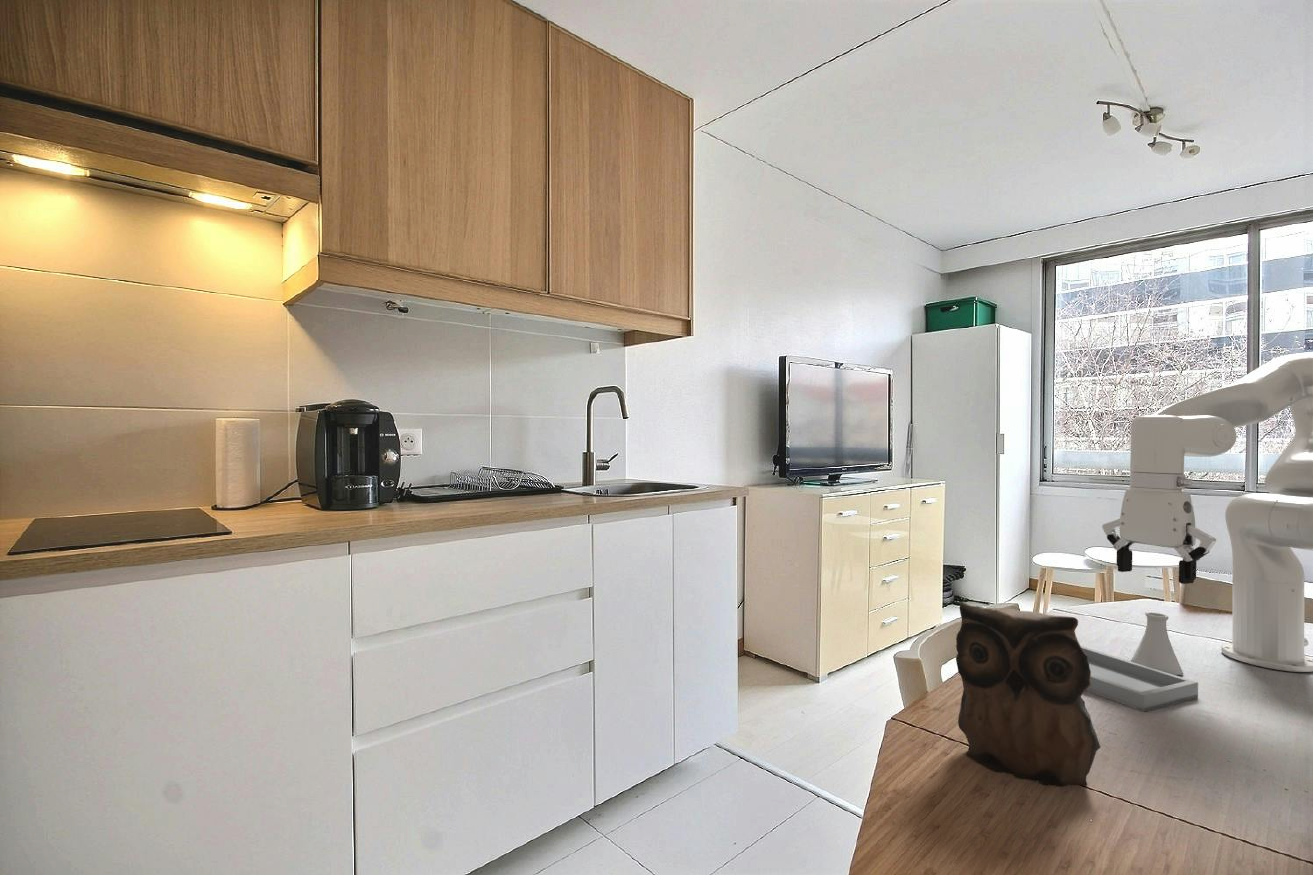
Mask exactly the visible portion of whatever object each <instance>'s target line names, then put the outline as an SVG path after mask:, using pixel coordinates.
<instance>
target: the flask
mask: <svg viewBox="0 0 1313 875" xmlns="http://www.w3.org/2000/svg"><path fill="white" fill-rule="evenodd" d="M1144 614H1145V616H1146V626H1145V630H1144V633H1143V635H1142V638H1141V640H1140V642H1139V644H1138V647H1137V648H1136V650H1135V651H1134V653H1133V656H1132V658H1131V660H1130V661H1131V662H1134V663H1137V664H1140V665H1144V666H1147V667H1150V668H1153V669H1157V670H1160V671H1163V672H1166V673H1169V674H1173V675H1176V676H1184V675H1185V674H1184V672H1183V670H1182V667H1181V665H1180V663H1179V660H1178V657H1177V655H1176V653H1175V650H1174V649H1173V646H1172V644H1171V641H1170V638H1169V633H1168V629H1167V628H1168V627H1167V621H1168V620H1169V616H1168V615H1167V614H1164V613H1161V612H1152V611H1145V612H1144Z"/></svg>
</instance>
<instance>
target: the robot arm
mask: <svg viewBox="0 0 1313 875" xmlns="http://www.w3.org/2000/svg"><path fill="white" fill-rule="evenodd" d="M1288 407H1289V409H1290V412H1291V415H1292V419H1293V423H1294V430H1295V432H1294V436H1293V437H1292V440H1291V441H1290V442H1289V444H1288V445H1287V446H1286V448H1285V449H1284V450H1283V451H1282V453H1281V454H1280V455H1279V456H1278V458H1277V459H1276V460H1275V461H1274V463H1273V464H1272V466H1271V467H1270V468H1269V469H1268V471H1267V472H1266V475H1265V476H1264V488H1265V490H1266V491H1267V492H1268V493H1263V492H1260V493H1259V492H1258V493H1256V492H1255V493H1253V492H1252V493H1245V494H1241V495H1239V496H1237V497H1235V498H1233V499H1232V500H1231V501H1229V503H1228V504H1227V506H1226V509H1225V514H1224V516H1225V523H1226V528H1227V531H1228V534H1229V539H1230V545H1231V554H1232V630H1231V631H1232V633H1231V634H1232V635H1231V636H1232V639H1231V640H1232V642H1230V643H1225V644H1222V645H1221V652H1222V653H1223V654H1224V655H1225V656H1227V657H1229V658H1231V659H1233V660H1236V661H1239V662H1242V663H1245V664H1249V665H1252V666H1256V667H1261V668H1266V669H1271V670H1277V671H1285V672H1292V673H1294V672H1295V673H1312V672H1313V659H1312V658H1310V657H1308V656H1306V655H1305V647H1307V646H1308V645H1309V640H1308V639H1307V638H1305V579H1306V578H1305V570H1304V567H1303V564H1302V563H1301V561H1300V559H1299V558H1298V556H1297V555H1296V553H1295V552H1294V551H1293V550H1292V549H1300V550H1307V551H1313V351H1311V352H1301V353H1293V354H1286V355H1283V356H1279V357H1276V358H1274V359H1271V360H1269V361H1268V362H1266V363H1264V364H1262V365H1260V366H1258V367H1257V368H1255V369H1253V370H1252V371H1251V372H1249V373H1247V374H1245V375H1243V376H1242V377H1240V378H1239V379H1237V380H1235V381H1233V382H1232V383H1230V384H1227V385H1225V386H1222V387H1218V388H1216V389H1212V390H1209V391H1206V392H1203V393H1201V394H1198V395H1195V396H1191V397H1189V398H1188V397H1187V398H1186V399H1182V400H1179V401H1177V402H1175V403H1172V404H1170V405H1168V406H1166V407H1164V408H1162V409H1160V410H1159V411H1157V412H1155V413H1154V414H1150V415H1149V414H1148V415H1147V414H1145V415H1141V416H1140V415H1139V416H1136V417H1135V418H1133V419H1132V420H1131V425H1130V461H1129V462H1130V463H1129V464H1130V465H1129V466H1130V468H1129V471H1130V472H1129V488H1126V489H1125V492H1124V494H1123V500H1122V503H1121V509H1120V516H1119V517H1120V518H1118V519H1114V520H1113V521H1109V522H1107V523H1104V524H1102V526H1101V527H1102V530H1103V532H1104V534H1105V535H1106V539H1107V540H1108V541H1109V543H1110V544H1111V545H1112V548H1113V549H1114V550H1115V551H1116V566H1117V572H1120V573H1126V572H1131V571H1133V550H1132V549H1130V548H1132V546H1133V545H1134V544H1142V545H1149V546H1153V547H1154V546H1155V547H1163V548H1167V549H1174V550H1175V551H1176V552H1177V554H1179V556H1180V557H1181V558H1182V559H1180V560H1179V561H1178V583H1179V584H1182V585H1188V584H1193V583H1194V582H1195V580H1196V578H1197V562H1198V561H1200V560H1201V558H1203V557H1204V556H1206V555H1208V554H1209V553H1210V551H1211V549H1212V548H1213V547H1214V545H1215V544H1216V543H1217V538H1216V537H1214V536H1212V535H1211V534H1208V533H1206V531H1205V532H1204V531H1203V530H1201V529H1200V528H1197V527H1196V518H1195V511H1194V505H1193V501H1192V497H1191V494H1190V493H1191V492H1185V491H1184V490H1185V489H1186V487H1192V486H1193V483H1194V481H1193V479H1192V478H1188V477H1186V474H1185V457H1195V458H1196V457H1199V458H1201V457H1202V458H1203V457H1204V458H1206V457H1207V458H1209V457H1210V458H1211V457H1216V456H1219V455H1223V454H1225V453H1227V452H1228V451H1230V450H1231V449H1232V448H1233V447H1234V446H1235V444H1236V442H1237V432H1236V429H1235V428H1240V427H1245V426H1250V425H1254V424H1255V425H1256V424H1260V423H1263V422H1265V421H1267V420H1269V419H1270V418H1273V417H1274V416H1275V415H1277V414H1280V412H1283V410H1286V409H1287V408H1288ZM1117 528H1119V535H1118V534H1117V532H1116V529H1117ZM1197 540H1199V542H1200V543H1199V546H1197V547H1195V548H1194V546H1195V545H1196V541H1197Z"/></svg>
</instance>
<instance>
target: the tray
mask: <svg viewBox="0 0 1313 875" xmlns="http://www.w3.org/2000/svg"><path fill="white" fill-rule="evenodd" d="M1080 646H1081V648H1082V650H1083V652H1084V653H1085V654H1086V655H1087V656H1088V663H1089V667H1090V670H1091V676H1090V683H1091V685H1090V686H1089V687H1088V688H1087V689H1086V690H1085V691H1087V692H1089V693H1093V694H1095V695H1097V696H1101V697H1103V698H1106V699H1108V700H1110V701H1111V700H1112V701H1114V702H1116V703H1119V704H1122V705H1124V706H1126V707H1130V708H1133V709H1135V710H1138V711H1140V712H1143V713H1146V712H1150V711H1153V710H1157V709H1161V708H1165V707H1169V706H1173V705H1176V704H1177V705H1178V704H1179V703H1183V702H1187V701H1192V700H1196V699H1198V698H1199V682H1198V681H1194V680H1191V679H1189V678H1185V677H1182V676H1180V675H1173V674H1169V673H1166V672H1163V671H1160V670H1157V669H1153V668H1150V667H1147V666H1144V665H1140V664H1137V663H1134V662H1131V660H1127V659H1124V658H1121V657H1117V656H1115V655H1111V654H1108V653H1105V652H1101V651H1098V650H1095V649H1092V648H1090V647H1089V648H1088V647H1085V646H1082V645H1080Z"/></svg>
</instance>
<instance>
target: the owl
mask: <svg viewBox="0 0 1313 875" xmlns="http://www.w3.org/2000/svg"><path fill="white" fill-rule="evenodd" d="M959 614H960V618H961V626H960V629H959V631H958V632H957V634H956V638H955V640H956V642H955V643H956V645H955V648H956V651H957V654H956V656H955V662H956V666H957V672H958V674H959V676H960V677H961V682H962V687H963V689H962V690H963V691H962V695H961V699H960V708H959V714H958V717H957V718H958V719H957V724H958V727H959V729H960V731H961V732H963V734H964V735H965V737H966V740H967V743H968V749H967V751H966V752H965V754H966V756H967V758H969V759H970V760H973V761H974V762H975V763H977V764H978V765H981V766H982V767H984V768H985V769H986V770H990V771H991V772H995V773H1000V774H1001V773H1002V774H1003V773H1004V774H1010V775H1012V776H1014V778H1016V779H1020V780H1030V781H1034V782H1037V783H1038V784H1040V785H1043V786H1045V787H1046V786H1053V787H1065V786H1083V787H1084V786H1085V787H1086V786H1088V781H1087V776H1088V775H1089V773H1090V770H1091V768H1092V765H1093V763H1094V760H1095V756H1096V754H1097V751H1098V750H1099V749H1101V745H1100V742H1099V738H1098V735H1097V733H1096V729H1095V728H1094V725H1093V722H1092V719H1091V715H1090V714H1089V712H1088V709H1087V707H1086V702H1085V701H1086V700H1084V699H1083V698H1082V696H1083V694H1084V693H1085V692H1086V691H1087V690H1086V689H1087V688H1088V687H1089V686H1090V685H1091V683H1090V676H1091V670H1090V667H1089V663H1088V656H1087V655H1086V654H1085V653H1084V652H1083V650H1082V648H1081V646H1082V645H1081V644H1080V642H1079V640H1078V637H1077V635H1076V629H1077V627H1078V626H1079V620H1078V618H1076V617H1075V616H1074V617H1073V616H1067V615H1066V616H1064V615H1052V614H1046V613H1042V612H1035V611H1030V610H1017V609H1013V608H1008V607H1007V608H1005V607H1004V608H1003V607H1002V608H999V607H998V608H996V607H983V606H979V605H970V604H967V603H966V602H965V601H962V602H960V603H959Z"/></svg>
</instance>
